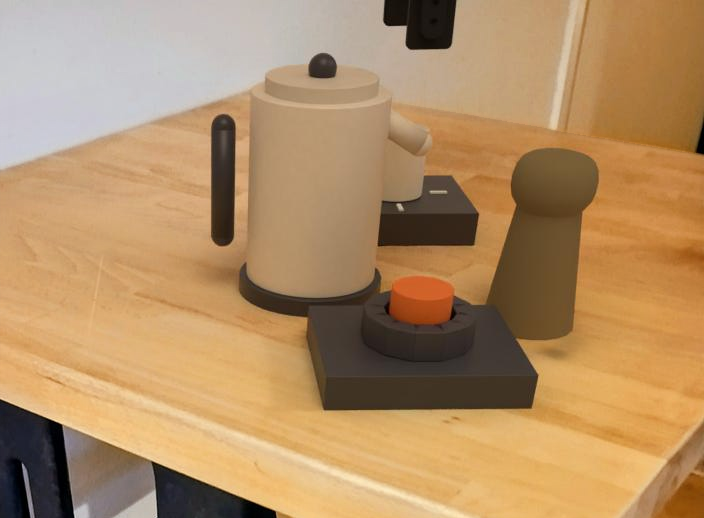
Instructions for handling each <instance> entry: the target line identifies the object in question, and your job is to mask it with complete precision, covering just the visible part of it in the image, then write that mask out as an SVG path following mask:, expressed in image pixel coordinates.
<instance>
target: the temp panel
mask: <svg viewBox="0 0 704 518" xmlns="http://www.w3.org/2000/svg"><path fill="white" fill-rule="evenodd" d="M479 217H480V212H479V210H477V208H476V207H475V205H474V204H473V202H472V201H471V200H470V198H469V197H468V196H467V195H466V193H465V191H464V190H463V189H462V187H461V186H460V184H459V183H458V182H457V181H456V179H455V178H454V176H453V175H451V174H450V175H446V174H445V175H444V174H440V175H439V174H438V175H437V174H431V175H429V174H427V175H426V174H424V179H423V187H422V195H421V196H420V197H419V198H417V199H415V200H411V201H404V202H389V201H382V204H381V214H380V224H379V234H378V244H377V246H474V245H475V243H476V236H477V230H478V225H479V224H478V223H479Z"/></svg>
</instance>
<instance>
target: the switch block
mask: <svg viewBox="0 0 704 518" xmlns="http://www.w3.org/2000/svg"><path fill="white" fill-rule="evenodd" d="M390 298H391V289H390V290H386V291H382V292H380V293H378V294H375V295H373V296H372V297H371V298H370V299H368V300H367V301H366V302H365V303H364V304H363V305H356V306H308V317H307V318H306V320H307V321H306V336H305V337H306V341H307V345H308V350H309V354H310V359H311V363H312V366H313V372H314V375H315V381H316V383H317V388H318V391H319V397H320V400H321V405H322V409H323V411H325V412H326V411H417V410H418V411H425V410H426V411H428V410H436V411H437V410H438V411H439V410H442V411H443V410H531V409H533V405H534V398H535V394H536V389H537V385H538V380H539V377H540V375H539V373H538V372H537V370H536V368H535V367H534V365H533V363H532V362H531V360H530V359H529V358H528V356H527V354H526V352H525V351H524V349H523V348H522V346H521V344H520V343H519V341H518V340H517V338H515V337H514V335H513V333H512V332H511V330H510V329H509V327H508V325H507V324H506V322H505V320H504V319H503V317H502V316H501V314H500V312H499V311H498V309H497V308H496V306H495V305H485V304H472V303H471V302H469V301H467V300H465V299H462V298H460V297H458V296H456V295H455V294H454V297H453V304H452V311H451V317H450V320H449V321H446V322H443V323H439V324H412V323H407V322H403V321H399V320H397V319H395V318H393V317H391V316H390V315H389V307H390Z"/></svg>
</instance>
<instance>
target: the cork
mask: <svg viewBox="0 0 704 518" xmlns="http://www.w3.org/2000/svg"><path fill="white" fill-rule="evenodd" d="M599 181H600V170H599V167H598V164H597V162H596V161H595V160H594V158H592V157H590V155H588V154H586V153H584V152H582V151H577V150H574V149H570V148H569V149H568V148H563V147H561V148H560V147H545V148H537V149H532V150H529V151H528V152H526V153H524V154H522V155H521V157H520V158H519V159H518V160H517V162H516V163H515V166H514V169H513V171H512V173H511V178H510V195H511V197H512V200H513V201H514V203H515V207H514V210H513V213H512V217H511V221H510V224H509V226H508V230H507V233H506V237H505V240H504V243H503V246H502V250H501V252H500V256H499V258H498V263H497V265H496V268H495V272H494V276H493V279H492V282H491V285H490V289H489V291H488V294H487V297H486V301H485V304H484V305H495V306H496V308H497V309H498V311H499V312H500V314H501V316H502V317H503V319H504V320H505V322H506V324H507V325H508V327H509V329H510V330H511V332H512V333H513V335H514V337H515V338H516V340H517V339H518V340H526V341H551V340H558V339H560V338H563V337H567V336H568V335H569V334H570V333H571V332H573V330H574V320H575V307H576V297H577V296H576V295H577V282H578V271H579V261H580V260H579V258H580V247H581V235H582V223H583V222H582V221H583V213H584V211H585V210H586V209H587V208H588V207H589V206H590V205H591V204H592V203H593V201H594V199H595V196H596V194H597V191H598V187H599Z"/></svg>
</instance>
